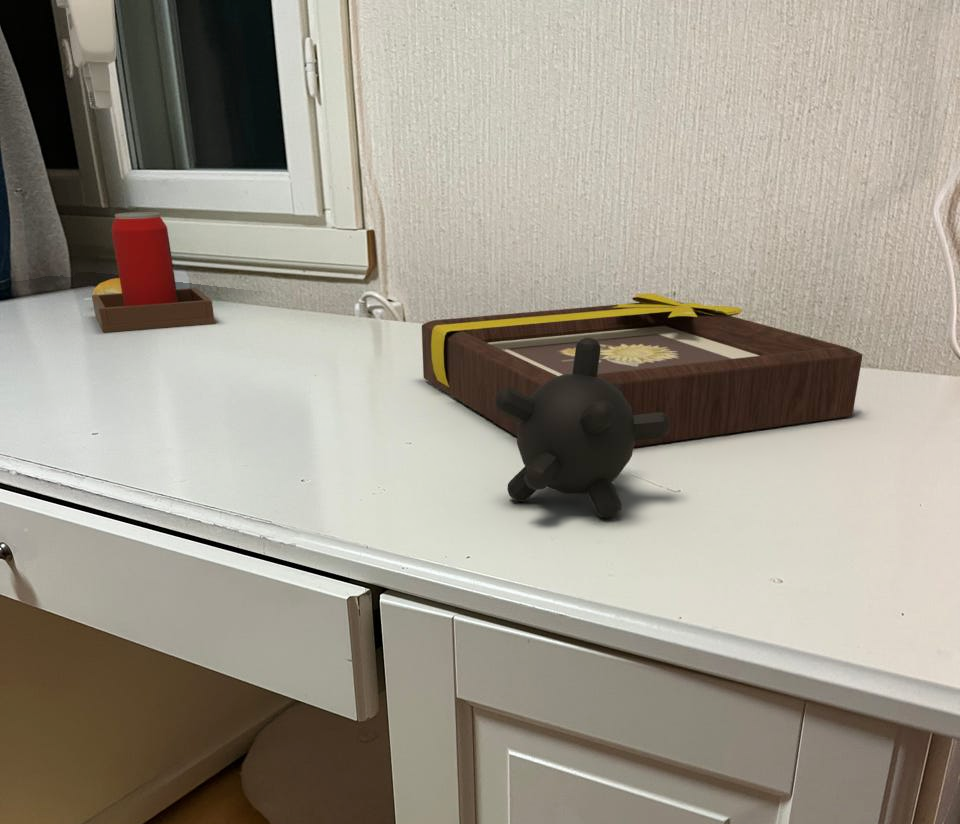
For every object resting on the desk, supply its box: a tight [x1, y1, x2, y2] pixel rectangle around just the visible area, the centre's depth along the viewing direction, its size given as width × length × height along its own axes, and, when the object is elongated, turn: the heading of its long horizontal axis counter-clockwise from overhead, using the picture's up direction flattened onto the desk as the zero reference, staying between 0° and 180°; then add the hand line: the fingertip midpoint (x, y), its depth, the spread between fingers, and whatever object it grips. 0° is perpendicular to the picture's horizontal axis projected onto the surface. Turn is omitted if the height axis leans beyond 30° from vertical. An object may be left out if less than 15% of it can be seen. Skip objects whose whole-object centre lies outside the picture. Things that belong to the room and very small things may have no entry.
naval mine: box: [494, 338, 670, 519], centre depth 63 cm, size 11×11×12 cm
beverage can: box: [111, 211, 178, 306], centre depth 126 cm, size 7×7×12 cm
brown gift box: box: [421, 293, 863, 448], centre depth 88 cm, size 28×7×30 cm
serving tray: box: [91, 287, 216, 333], centre depth 128 cm, size 14×13×3 cm
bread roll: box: [92, 277, 122, 303], centre depth 138 cm, size 8×9×4 cm
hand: (101, 108), depth 121 cm, fingers open, 8 cm apart
